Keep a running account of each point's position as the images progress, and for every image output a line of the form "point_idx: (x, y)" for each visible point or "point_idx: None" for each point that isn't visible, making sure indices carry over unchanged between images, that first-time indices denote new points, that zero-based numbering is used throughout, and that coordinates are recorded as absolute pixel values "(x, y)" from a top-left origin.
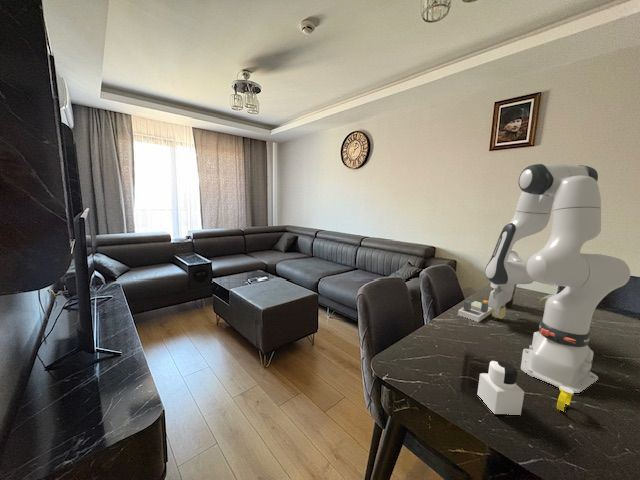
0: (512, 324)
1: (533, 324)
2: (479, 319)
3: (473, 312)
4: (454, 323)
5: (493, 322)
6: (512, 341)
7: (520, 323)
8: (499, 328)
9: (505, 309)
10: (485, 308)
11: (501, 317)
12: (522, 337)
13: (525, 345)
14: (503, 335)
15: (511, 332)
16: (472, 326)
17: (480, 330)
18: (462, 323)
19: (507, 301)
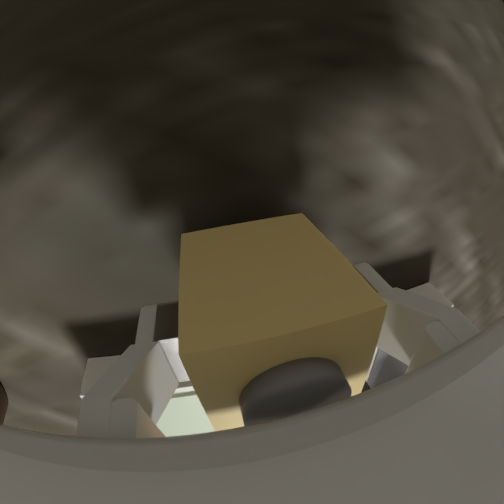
0: (234, 101)
1: (17, 26)
2: (425, 296)
3: (401, 365)
4: (481, 307)
5: (360, 233)
6: (498, 60)
7: (105, 74)
8: (431, 151)
9: (183, 306)
10: (367, 386)
11: (310, 225)
12: (430, 2)
13: (483, 6)
14: (486, 106)
15: (426, 66)
16: (481, 259)
17: (497, 214)
18: (472, 298)
19: (66, 463)
